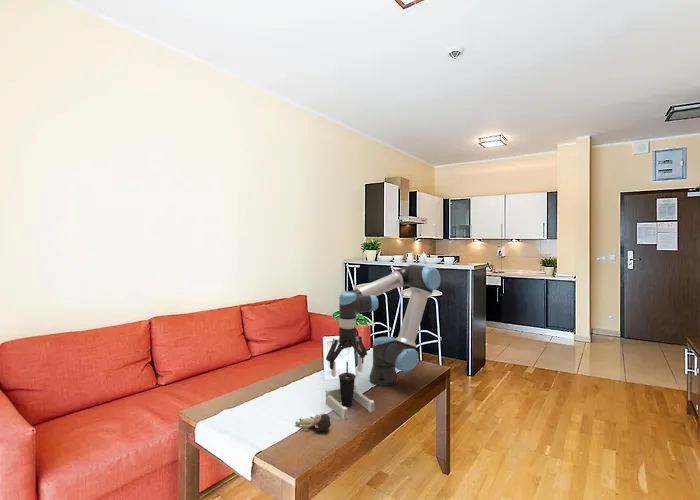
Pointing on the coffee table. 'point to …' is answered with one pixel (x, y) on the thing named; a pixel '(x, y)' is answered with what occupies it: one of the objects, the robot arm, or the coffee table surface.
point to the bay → (333, 401)
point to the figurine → (316, 422)
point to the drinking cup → (347, 387)
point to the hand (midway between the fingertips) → (346, 373)
